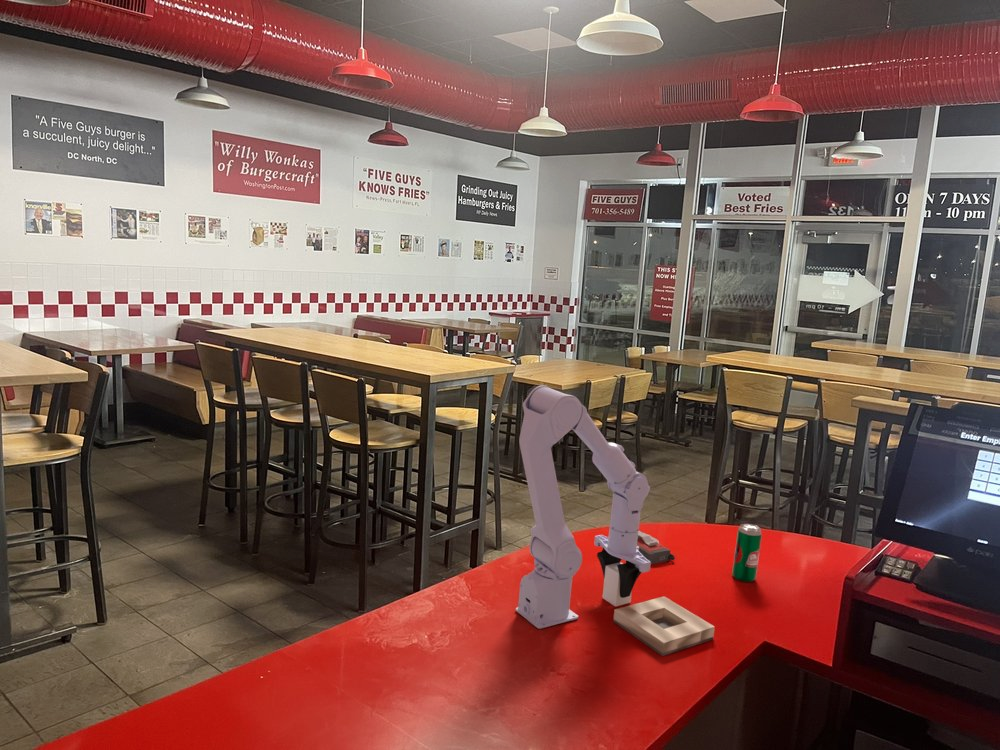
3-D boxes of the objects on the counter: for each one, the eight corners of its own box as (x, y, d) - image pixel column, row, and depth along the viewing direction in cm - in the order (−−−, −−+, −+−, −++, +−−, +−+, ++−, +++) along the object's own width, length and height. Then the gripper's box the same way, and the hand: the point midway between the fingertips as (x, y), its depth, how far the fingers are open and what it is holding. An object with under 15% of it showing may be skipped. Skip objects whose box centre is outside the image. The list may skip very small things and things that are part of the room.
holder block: (662, 655, 126) (663, 642, 126) (613, 621, 137) (614, 609, 137) (713, 639, 133) (714, 626, 133) (662, 607, 144) (664, 596, 144)
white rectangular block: (615, 606, 143) (619, 573, 142) (602, 597, 147) (605, 565, 145) (630, 602, 145) (634, 570, 144) (617, 594, 149) (620, 562, 148)
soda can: (747, 585, 157) (754, 533, 155) (727, 576, 161) (733, 525, 159) (759, 579, 161) (767, 528, 159) (739, 571, 164) (746, 521, 162)
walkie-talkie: (681, 562, 168) (627, 531, 185) (683, 544, 167) (629, 514, 184) (652, 568, 164) (599, 535, 181) (654, 550, 163) (601, 518, 180)
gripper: (664, 537, 139) (657, 603, 142) (615, 512, 152) (608, 573, 154) (637, 543, 136) (630, 610, 138) (589, 517, 148) (583, 579, 150)
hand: (617, 591), depth 146 cm, fingers closed on white rectangular block, 4 cm apart
